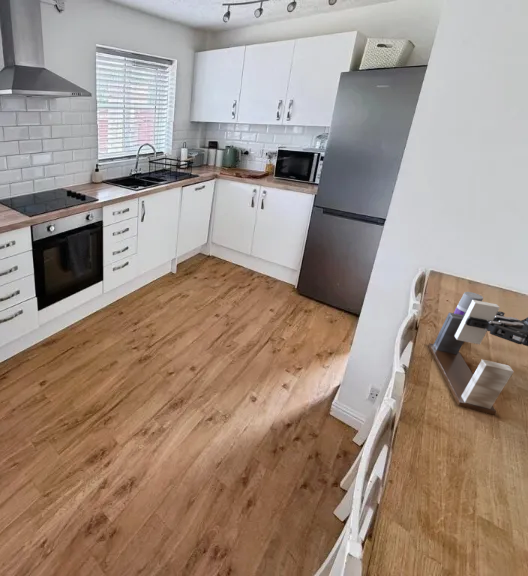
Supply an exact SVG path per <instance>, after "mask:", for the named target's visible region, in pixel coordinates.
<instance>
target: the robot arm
mask: <svg viewBox="0 0 528 576" xmlns="http://www.w3.org/2000/svg"><path fill="white" fill-rule="evenodd" d="M465 314H466V312H465V313H464V314H463V316H462V319H463V318H464V316H465ZM505 314H506V313H505V312H504V311H498V312H497V314H496V316H495V318H494V319H493V321H490V320H488V322H487V320H484V319H479V318H474V317H468V318H467V320H466V322H465V323H466V325H468V326H473V327H478V328H484V330H486V331H487V332H489V334H490V335H492V336H495V337H498V338H500V339H502V340H505V341H508V342H512V343H514V344H517V345H522V346H525V347H528V316H527V317H526V318H523V319H519V318H517V317H514V316H513V317H512V316H505Z"/></svg>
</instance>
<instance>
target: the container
mask: <svg viewBox="0 0 528 576" xmlns="http://www.w3.org/2000/svg"><path fill="white" fill-rule="evenodd" d="M472 300H476V301H482V302H483V300H484V296H483V295H480V294H479V293H475V292H472V291H464V293H463V294H462V296H461V298H460V300H459V302H458V304H457V306H456V307H455V310H454V312H453V313H455V314H460V315H463V314H464V313H465V312H467V310H468V308H469V306H470V304H471V302H472Z"/></svg>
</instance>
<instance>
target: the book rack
mask: <svg viewBox="0 0 528 576" xmlns="http://www.w3.org/2000/svg"><path fill="white" fill-rule="evenodd" d="M462 316H463V315H460V314H455V313H454V312H448V314H447V316H446V318H445V320H444V322H443V324H442V327H441V328H440V329H439V332H438V334H437V336H436V339H435V341H434V343H428V346H427V347H428V349H429V350H430V353H431V354H432V356H433V358H434V360H435V362H436V364H437V366H438V368H439V371H440V373H441V374H442V376H443V378H444V380H445V382H446V384H447V386H448V388H449V391H450V393H451V394H452V396H453V398H454V400H455V402H456V404H457V406H458V407H463V408H466V409H470V410H474V411H478V412H482V413H485V414H490V415H493V416H495V415H496V413H497V410H496V409H495V407H494V404H495V403H496V401H497V399H498V398H499V396H500V394H501V393H502V391H503V389H504V388H505V387H506V385H507V383H508V382H509V381H510V378H511V377H512V375H513V374H514V372H515V371H514V370H513V369H512V367H511V366H510V365H508V364H504V363H500V362H495V361H491V360H486V359H483V358H482V359H481V360H480V362H479V364H478V365H477V368H476V369H475V371H474V373H473V372H472V370H471V369H470V367H469V366H468V364H467V362H466V361H465V359H464V357H463V356H462V354H461V353H460V351H461V349H462V347H463V345H464V343H465V341H460V340H457V339H456V338H455V334H456V332H457V330H458V328H459V326H460V324H461V322H462V320H463V319H462Z"/></svg>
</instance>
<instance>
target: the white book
mask: <svg viewBox="0 0 528 576" xmlns="http://www.w3.org/2000/svg"><path fill="white" fill-rule="evenodd" d="M500 308H501V307H500V306H499V305H498V304H497V303H492V302H487V301H483V300H482V301H476V300H472V302H471V304H470V306H469V308H468V310H467V312H466V314H465V316H464V318H463V320H462V322H461V324H460V326H459V328H458V330H457V332H456V334H455V338H456V339H457V340H460V341H464V343H470V344H475V345H481V344H482V341H483V340H484V338H485V336H486V334H487V332H488V331H486V330H484V328H478V327H473V326H468V325H466V323H465V322H466V320H467V318H468V317H474V318H479V319H484V320H487V322H488V320H490V321H493V319H494V318H495V316H496V314H497V312H499V311H500Z"/></svg>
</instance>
